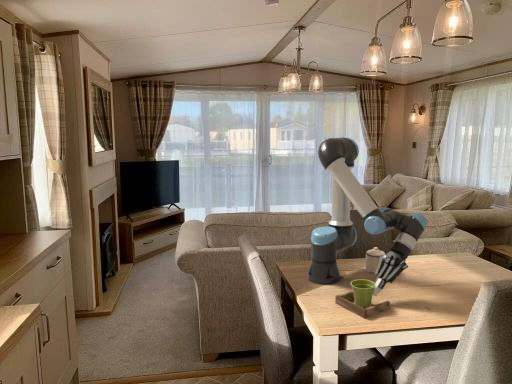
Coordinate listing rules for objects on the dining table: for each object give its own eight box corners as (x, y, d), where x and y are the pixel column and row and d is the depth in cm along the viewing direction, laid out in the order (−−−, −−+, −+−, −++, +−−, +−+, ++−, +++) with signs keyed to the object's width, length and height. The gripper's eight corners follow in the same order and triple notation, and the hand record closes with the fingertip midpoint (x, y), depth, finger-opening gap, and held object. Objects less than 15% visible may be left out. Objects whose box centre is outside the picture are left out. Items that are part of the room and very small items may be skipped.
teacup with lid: (388, 272, 191) (389, 249, 190) (372, 274, 189) (373, 251, 187) (373, 264, 203) (374, 242, 201) (358, 266, 200) (359, 244, 198)
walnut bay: (360, 295, 165) (360, 288, 165) (389, 309, 152) (390, 301, 152) (335, 303, 158) (335, 295, 158) (364, 318, 145) (364, 310, 145)
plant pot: (354, 297, 163) (354, 277, 161) (378, 301, 158) (378, 281, 157) (347, 307, 155) (347, 286, 154) (372, 311, 150) (371, 290, 149)
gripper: (420, 255, 159) (390, 304, 153) (394, 247, 170) (365, 293, 164) (412, 244, 156) (381, 294, 150) (386, 237, 167) (356, 283, 161)
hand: (373, 293), depth 157 cm, fingers closed
